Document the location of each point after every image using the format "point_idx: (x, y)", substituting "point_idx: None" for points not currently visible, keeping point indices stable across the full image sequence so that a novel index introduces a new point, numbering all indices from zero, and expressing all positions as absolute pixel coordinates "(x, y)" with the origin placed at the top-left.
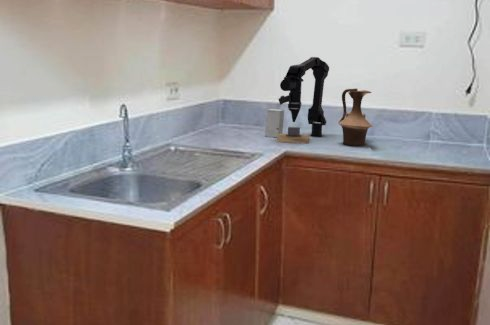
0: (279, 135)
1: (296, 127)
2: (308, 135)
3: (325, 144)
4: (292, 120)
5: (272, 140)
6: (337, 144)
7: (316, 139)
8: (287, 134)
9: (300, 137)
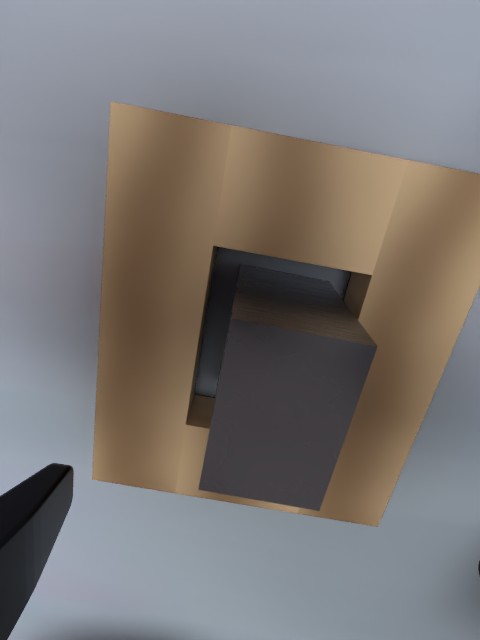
0: (285, 160)
1: (270, 458)
2: (315, 511)
3: (89, 550)
4: (25, 481)
5: (257, 56)
6: (112, 617)
7: (360, 540)
8: (396, 296)
9: (143, 412)
